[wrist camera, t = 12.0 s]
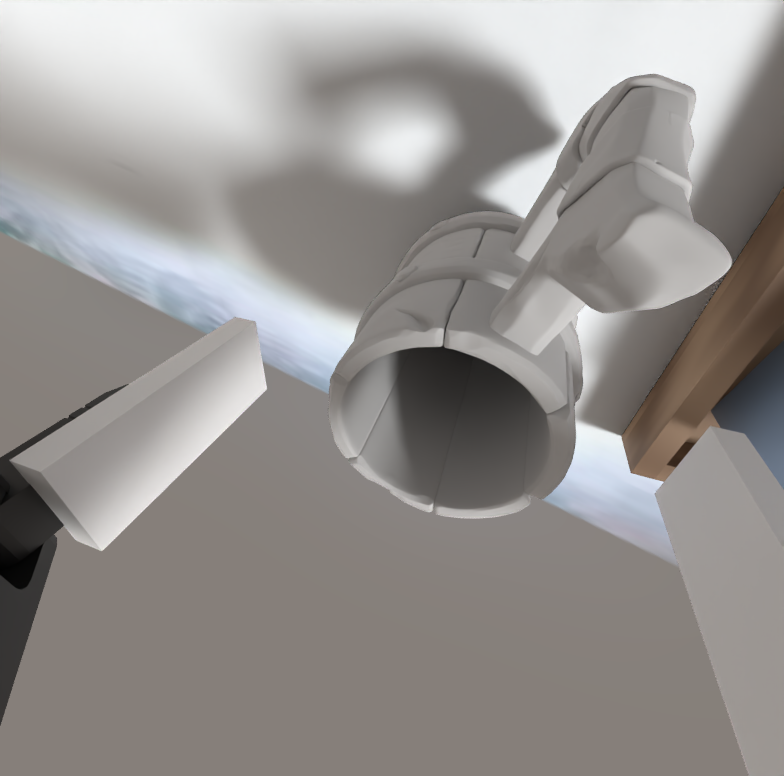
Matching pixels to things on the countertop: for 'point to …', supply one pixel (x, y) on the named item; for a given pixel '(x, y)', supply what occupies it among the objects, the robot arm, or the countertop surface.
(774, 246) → the tray
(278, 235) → the countertop surface
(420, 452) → the mug
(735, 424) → the long blue-grey cuboid
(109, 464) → the robot arm
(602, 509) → the countertop surface
